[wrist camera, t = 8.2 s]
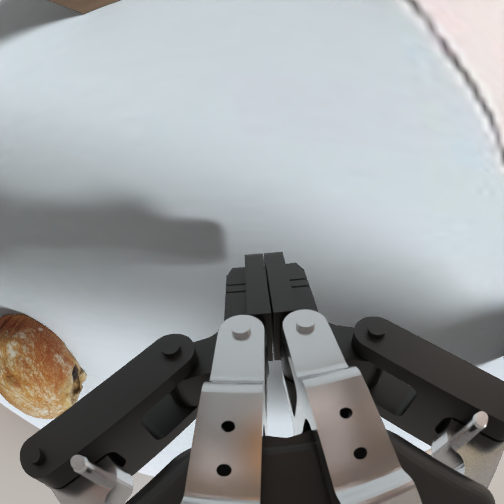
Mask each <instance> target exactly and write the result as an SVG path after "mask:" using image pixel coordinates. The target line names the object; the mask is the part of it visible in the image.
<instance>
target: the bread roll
mask: <svg viewBox="0 0 504 504" xmlns="http://www.w3.org/2000/svg"><path fill="white" fill-rule="evenodd" d="M86 377H87V374H86V373H85V372H84V371H83V370H82V368H81V367H80V366H79V364H78V362H77V360H76V359H75V357H74V356H73V355H72V354H71V352H70V351H69V350H68V349H67V347H66V345H65V343H64V342H63V341H62V340H61V339H60V338H59V337H58V336H57V335H56V334H55V333H54V332H52V331H51V330H50V329H48V328H47V327H46V326H44V325H43V324H41V323H39V322H38V321H36V320H34V319H33V318H31V317H28V316H26V315H22V314H20V315H19V314H16V315H14V314H11V315H4V316H2V317H1V318H0V394H1V395H2V396H3V397H4V398H5V399H6V400H7V401H8V402H9V403H10V404H12V405H13V406H14V407H16V408H17V409H19V410H20V411H22V412H24V413H25V414H27V415H30V416H33V417H36V418H43V419H52V418H56V417H58V416H59V415H61V414H62V413H63V412H65V411H66V410H67V409H69V408H70V407H71V406H73V405H74V404H75V403H76V401H77V399H78V396H79V394H80V392H81V390H82V388H83V386H82V383H83V382H84V381H85V379H86Z"/></svg>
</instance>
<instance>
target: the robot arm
mask: <svg viewBox="0 0 504 504" xmlns="http://www.w3.org/2000/svg"><path fill="white" fill-rule="evenodd" d="M264 264H265V266H264ZM272 344H273V352H274V360H281V363H282V379H283V384H284V388H285V392H286V396H287V400H288V405H289V409H290V413H291V417H292V422H293V432H294V436H293V437H289V438H280V437H272V436H267V377H268V374H269V367H268V361H273V354H272ZM503 358H504V357H503ZM385 371H386V372H385ZM390 374H391V375H390ZM397 378H398V379H397ZM404 382H405V383H404ZM409 385H410V386H409ZM380 416H381V417H383V418H384V419H386V420H387V421H389V422H391V423H392V424H394V425H396V426H397V427H399V428H401V429H402V430H404V431H406V432H407V433H409V434H411V435H413V436H414V437H416V438H418V439H419V440H421V441H423V442H425V443H426V444H428V445H430V446H432V447H431V451H432V455H431V456H430V455H429V454H427V453H426V452H424V451H422V450H421V449H419V448H417V447H416V446H414V445H413V444H411V443H410V442H408V441H406V440H405V439H403V438H402V437H400V436H399V435H397V434H395V433H393V432H391V431H389V430H386V429H385V426H384V424H383V421H382V419H381V417H380ZM195 419H196V424H195V430H194V436H193V442H192V448H190V449H188V450H186V451H184V452H183V453H181V454H179V455H178V456H177V457H175V458H174V459H173V460H172V461H171V462H170V463H169V464H168V465H167V466H166V467H165V468H163V469H162V470H161V471H160V472H159V473H158V474H157V475H156V476H155V477H154V478H153V479H152V480H151V481H150V482H149V483H148V484H147V485H145V486H144V487H143V488H142V489H141V490H140V491H139V492H138V493H137V494H135V496H133V497H132V498H131V499H130V500H129V501H127V502H126V503H125V501H126V500H127V499H128V498H129V497H130V495H131V494H132V491H133V480H132V477H131V476H132V475H134V474H135V473H136V472H137V471H138V470H140V469H141V468H142V467H143V466H144V465H146V464H147V463H148V462H149V461H150V460H151V459H152V458H154V457H155V456H156V455H157V454H158V453H159V452H160V451H162V450H163V449H164V448H165V447H166V446H167V445H168V444H169V443H170V442H171V441H173V440H174V439H175V438H176V437H177V436H178V435H179V434H180V433H181V432H182V431H183V430H184V429H185V428H186V427H188V426H189V425H190V424H191V423H192V422H193V421H194V420H195ZM503 451H504V381H502V380H500V379H499V378H497V377H495V376H493V375H491V374H489V373H487V372H485V371H483V370H481V369H479V368H478V367H476V366H474V365H472V364H470V363H468V362H466V361H464V360H462V359H460V358H458V357H457V356H455V355H453V354H451V353H449V352H447V351H445V350H443V349H441V348H439V347H437V346H436V345H434V344H432V343H430V342H428V341H426V340H424V339H422V338H420V337H418V336H416V335H414V334H413V333H411V332H409V331H407V330H405V329H403V328H401V327H399V326H397V325H395V324H393V323H391V322H390V321H388V320H386V319H383V318H380V317H366V318H364V319H362V320H360V321H359V322H358V323H357V324H356V326H355V328H352V327H342V326H336V325H333V324H331V323H328V322H327V320H326V318H325V317H324V316H323V315H322V314H320V313H319V312H318V310H317V307H316V304H315V301H314V298H313V295H312V292H311V289H310V287H309V283H308V280H307V277H306V275H305V272H304V269H302V268H301V267H300V266H299V265H298V264H297V263H291V264H285V260H284V257H283V253H282V252H275V253H264V259H263V254H251V255H245V267H243V268H232V270H231V271H230V272H229V274H228V275H227V282H226V298H225V316H224V322H223V323H222V324H221V325H220V327H219V330H218V332H217V333H216V334H214V335H213V336H211V337H209V338H206V339H203V340H200V341H196V342H193V341H192V340H191V339H190V338H189V337H187V336H185V335H182V334H170V335H166V336H163V337H161V338H160V339H158V340H157V341H155V342H154V343H153V344H152V345H150V346H149V347H148V348H146V349H145V350H144V351H143V352H141V353H140V354H139V355H138V356H136V357H135V358H134V359H132V360H131V361H130V362H128V363H127V364H126V365H125V366H123V367H122V368H121V369H119V370H118V371H117V372H116V373H114V374H113V375H112V376H110V377H109V378H108V379H107V380H105V381H104V382H103V383H101V384H100V385H99V386H97V387H96V388H95V389H93V390H92V391H91V392H90V393H88V394H87V395H86V396H84V397H83V398H82V399H80V400H79V401H78V402H76V403H75V404H74V405H73V406H71V407H70V408H69V409H67V410H66V411H65V412H63V413H62V414H61V415H59V416H58V417H57V418H55V419H54V420H53V421H51V422H50V423H49V424H47V425H46V426H45V427H43V428H42V429H41V430H39V431H38V432H37V433H35V434H34V435H33V436H31V437H30V438H29V439H27V441H25V443H24V444H23V446H22V448H21V451H20V462H21V465H22V467H23V469H24V470H25V472H26V473H27V474H28V475H30V476H31V477H33V478H35V479H37V480H38V481H40V482H42V483H44V484H45V485H46V486H48V487H49V488H50V489H51V490H52V491H53V493H54V494H55V496H56V497H57V499H58V500H59V502H60V503H61V504H124V503H125V504H495V500H494V498H493V495H492V494H491V492H490V491H489V490H488V489H487V488H488V486H489V484H490V482H491V480H492V478H493V475H494V473H495V471H496V468H497V466H498V463H499V461H500V459H501V456H502V453H503Z"/></svg>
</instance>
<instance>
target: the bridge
mask: <svg viewBox="0 0 504 504" xmlns="http://www.w3.org/2000/svg"><path fill="white" fill-rule="evenodd" d="M49 1H52V2H54V3H57V4H60V5H62V6H65V7H68V8H70V9H73V10H75V11H77V12H80V13H82V14H86V13H88V12H90V11H93V10H95V9H98V8H100V7H103V6H106V5H108V4H111V3H114V2H117V1H120V0H49Z"/></svg>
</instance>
